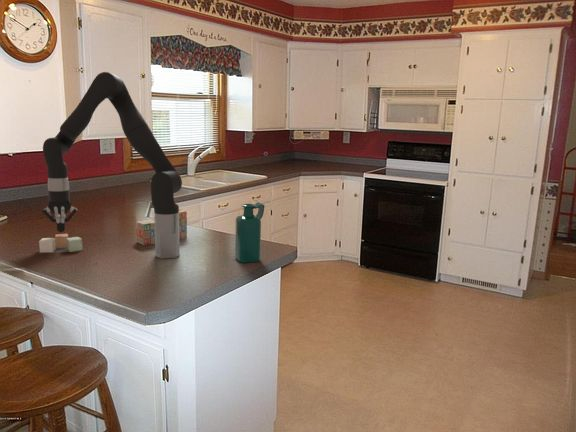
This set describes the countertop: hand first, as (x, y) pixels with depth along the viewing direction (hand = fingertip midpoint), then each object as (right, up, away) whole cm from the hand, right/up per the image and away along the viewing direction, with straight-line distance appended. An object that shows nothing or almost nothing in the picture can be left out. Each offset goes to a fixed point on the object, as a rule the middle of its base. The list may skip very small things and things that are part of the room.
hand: (61, 231), depth 189 cm
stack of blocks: (+35, -4, +19) cm, 40 cm away
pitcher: (+75, -11, -5) cm, 76 cm away
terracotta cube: (0, -6, +1) cm, 6 cm away
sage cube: (+7, -7, -3) cm, 10 cm away
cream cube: (-3, -7, -5) cm, 9 cm away
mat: (+1, -7, -1) cm, 7 cm away
